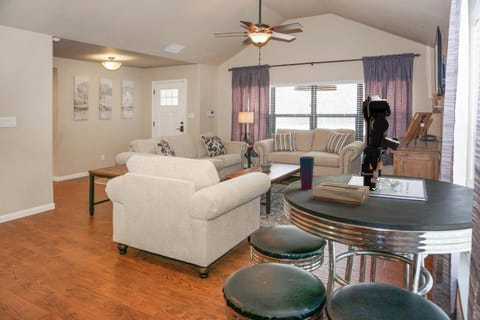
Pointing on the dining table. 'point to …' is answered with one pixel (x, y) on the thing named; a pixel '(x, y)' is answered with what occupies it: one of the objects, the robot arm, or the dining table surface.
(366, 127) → the robot arm
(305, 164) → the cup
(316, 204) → the dining table surface
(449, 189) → the dining table surface
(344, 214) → the dining table surface
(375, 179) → the peg
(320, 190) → the keyhole track
